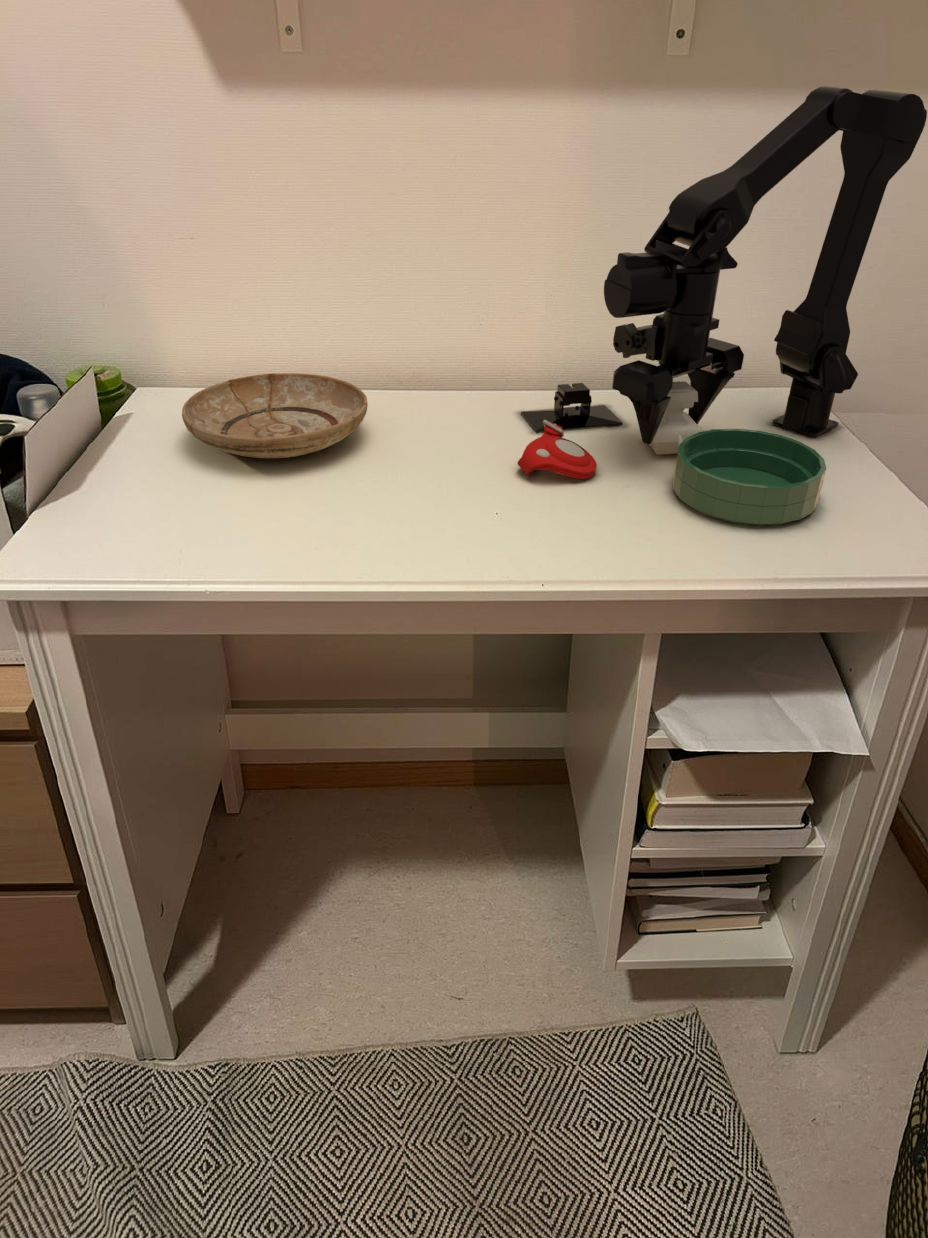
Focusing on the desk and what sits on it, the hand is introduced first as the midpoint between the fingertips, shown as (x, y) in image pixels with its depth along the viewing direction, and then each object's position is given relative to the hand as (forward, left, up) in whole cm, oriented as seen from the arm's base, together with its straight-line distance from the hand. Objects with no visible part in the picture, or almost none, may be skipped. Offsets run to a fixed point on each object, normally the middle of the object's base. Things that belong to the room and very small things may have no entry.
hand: (670, 433), depth 116 cm
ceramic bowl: (+36, -35, -2) cm, 50 cm away
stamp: (0, 0, -2) cm, 2 cm away
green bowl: (+4, +14, -2) cm, 15 cm away
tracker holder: (+14, -6, -2) cm, 15 cm away
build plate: (+2, -15, -2) cm, 15 cm away
